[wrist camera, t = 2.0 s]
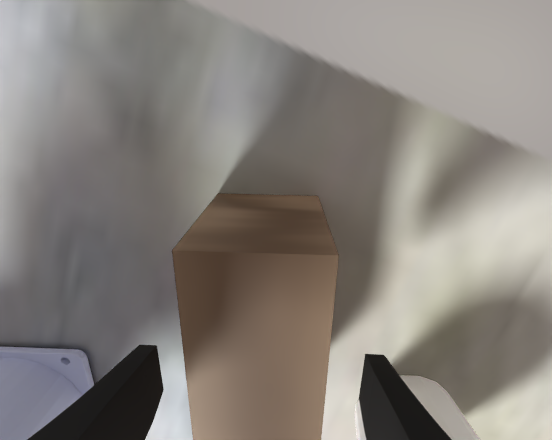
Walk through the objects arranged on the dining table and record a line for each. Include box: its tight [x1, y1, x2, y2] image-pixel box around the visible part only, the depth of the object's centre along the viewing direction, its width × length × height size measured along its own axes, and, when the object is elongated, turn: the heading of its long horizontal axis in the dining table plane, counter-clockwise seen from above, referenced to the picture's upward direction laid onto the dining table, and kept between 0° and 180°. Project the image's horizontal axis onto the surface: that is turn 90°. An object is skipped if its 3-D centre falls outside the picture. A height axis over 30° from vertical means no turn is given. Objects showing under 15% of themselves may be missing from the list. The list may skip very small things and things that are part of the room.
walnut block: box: [172, 193, 339, 440], centre depth 13 cm, size 4×10×6 cm, turn 179°
